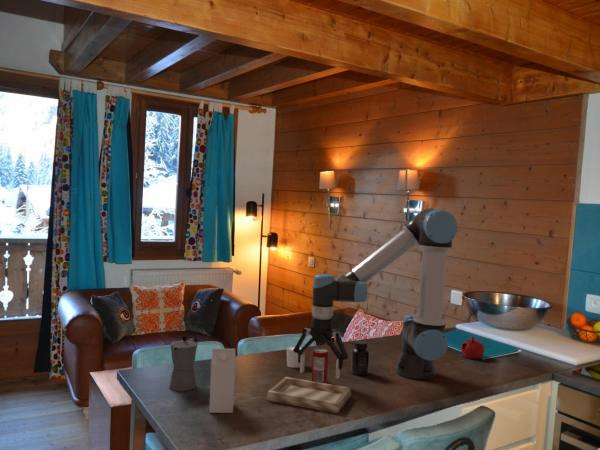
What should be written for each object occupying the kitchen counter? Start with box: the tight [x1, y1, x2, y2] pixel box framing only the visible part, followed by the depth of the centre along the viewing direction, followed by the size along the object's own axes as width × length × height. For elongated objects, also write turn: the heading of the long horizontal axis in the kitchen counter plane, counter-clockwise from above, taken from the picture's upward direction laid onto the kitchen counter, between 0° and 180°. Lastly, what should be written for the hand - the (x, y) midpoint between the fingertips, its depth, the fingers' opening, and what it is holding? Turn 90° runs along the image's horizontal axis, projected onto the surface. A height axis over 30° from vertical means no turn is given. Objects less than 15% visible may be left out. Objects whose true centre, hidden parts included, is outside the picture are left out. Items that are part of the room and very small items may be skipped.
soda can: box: [311, 348, 329, 384], centre depth 193 cm, size 6×6×12 cm
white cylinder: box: [285, 345, 303, 369], centre depth 212 cm, size 7×7×7 cm
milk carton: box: [208, 348, 236, 414], centre depth 165 cm, size 7×7×19 cm
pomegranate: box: [460, 336, 485, 360], centre depth 234 cm, size 10×10×9 cm
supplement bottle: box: [350, 340, 370, 376], centre depth 206 cm, size 7×7×12 cm
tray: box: [266, 376, 352, 414], centre depth 178 cm, size 24×16×3 cm, turn 70°
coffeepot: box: [169, 334, 199, 392], centre depth 184 cm, size 15×9×18 cm, turn 162°
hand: (319, 374), depth 194 cm, fingers open, 13 cm apart
